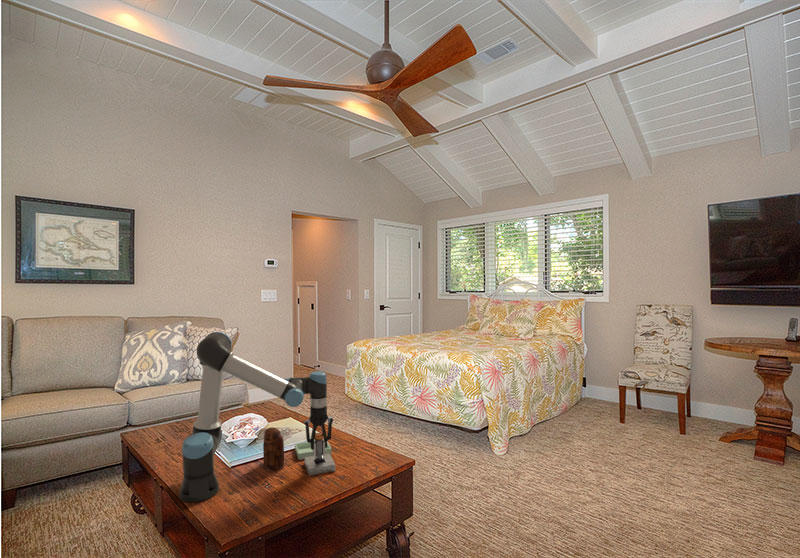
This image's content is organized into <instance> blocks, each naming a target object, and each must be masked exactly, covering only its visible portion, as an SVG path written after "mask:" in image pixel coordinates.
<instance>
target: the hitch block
mask: <svg viewBox="0 0 800 558" xmlns="http://www.w3.org/2000/svg"><path fill="white" fill-rule="evenodd" d="M303 460H304V466H305V469H306V472H307V474H308V476H314V475H320V474H325V473H330V472H335V471H336V463H335V461H334V459H333V457H332V454H331V455H330V453H329V454H325V456H323V463H319V464H315V457H314V456H311V457H305V458H304V459H303Z"/></svg>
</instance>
